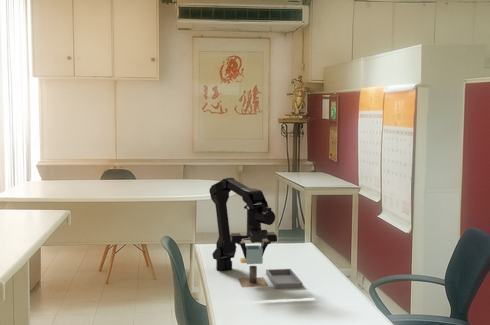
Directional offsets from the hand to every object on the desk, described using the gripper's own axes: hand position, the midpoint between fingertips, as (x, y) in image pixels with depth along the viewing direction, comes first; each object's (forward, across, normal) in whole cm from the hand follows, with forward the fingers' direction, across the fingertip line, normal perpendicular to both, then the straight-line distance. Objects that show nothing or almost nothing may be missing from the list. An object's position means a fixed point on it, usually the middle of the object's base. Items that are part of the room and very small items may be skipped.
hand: (253, 258), depth 205 cm
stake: (+11, 0, 0) cm, 11 cm away
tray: (+11, +13, 0) cm, 17 cm away
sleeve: (+2, 0, 0) cm, 2 cm away
